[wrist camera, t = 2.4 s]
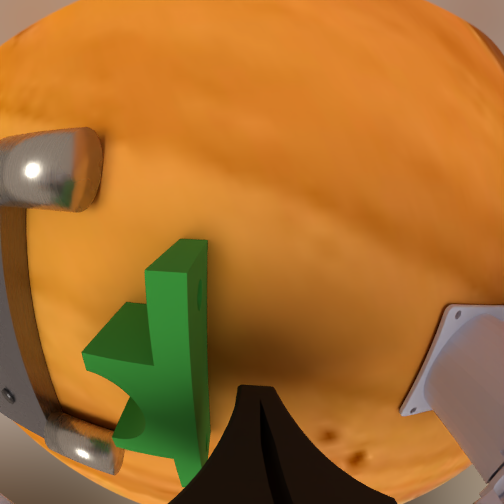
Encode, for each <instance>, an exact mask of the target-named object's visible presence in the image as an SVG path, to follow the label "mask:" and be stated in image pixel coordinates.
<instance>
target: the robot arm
mask: <svg viewBox="0 0 504 504" xmlns="http://www.w3.org/2000/svg"><path fill="white" fill-rule="evenodd" d="M429 410H433V411H434V412H435V413H436V415H437V416H438V417H439V418H440V420H441V421H442V422H443V424H444V425H445V426H446V428H447V429H448V430H449V432H450V433H451V434H452V436H453V437H454V439H455V440H456V441H457V443H458V444H459V445H460V447H461V448H462V449H463V451H464V452H465V454H466V455H467V456H468V458H469V459H470V461H471V462H472V464H473V465H474V466H475V468H476V469H477V470H478V472H479V473H480V475H481V476H482V478H483V480H484V481H485V482H486V484H487V483H489V484H488V485H487V486H486V488H485V489H483V490H482V491H481V492H480V494H479V495H480V496H481V498H480V499H478V500H477V501H476V502H474V503H473V504H504V305H460V304H451V305H449V306H448V307H447V308H446V309H445V311H444V314H443V316H442V319H441V322H440V325H439V327H438V330H437V333H436V335H435V338H434V340H433V343H432V345H431V348H430V350H429V352H428V355H427V357H426V359H425V361H424V363H423V366H422V368H421V370H420V372H419V374H418V376H417V378H416V380H415V382H414V384H413V386H412V388H411V390H410V392H409V394H408V396H407V397H406V399H405V401H404V403H403V405H402V406H401V408H400V410H399V413H400V414H401V416H408V415H413V414H417V413H421V412H425V411H429ZM0 504H14V503H13V502H12V501H10V500H9V499H8V498H6V497H5V496H4V495H2V494H1V493H0ZM168 504H397V502H396V501H395V499H394V498H392V497H390V496H387V495H385V494H383V493H380V492H378V491H376V490H374V489H372V488H370V487H368V486H366V485H364V484H363V483H361V482H359V481H357V480H356V479H354V478H353V477H351V476H350V475H349V474H347V473H346V472H344V471H343V470H342V469H340V468H339V467H337V466H336V465H335V464H334V463H333V462H332V461H330V460H329V459H328V458H327V457H326V456H325V455H324V454H323V453H322V452H321V451H320V450H319V449H318V448H317V447H316V446H315V445H314V444H313V443H312V442H311V441H310V440H309V439H308V437H307V436H306V435H305V434H304V433H303V431H302V430H301V429H300V428H299V426H298V425H297V424H296V422H295V421H294V419H293V418H292V417H291V415H290V414H289V412H288V411H287V409H286V408H285V406H284V404H283V403H282V401H281V399H280V398H279V396H278V394H277V392H276V390H275V389H274V388H273V387H270V386H253V385H240V386H238V390H237V396H236V402H235V407H234V410H233V413H232V416H231V418H230V421H229V423H228V425H227V427H226V429H225V431H224V433H223V435H222V437H221V439H220V441H219V443H218V445H217V446H216V448H215V449H214V451H213V453H212V454H211V456H210V457H209V459H208V460H207V461H206V463H205V464H204V466H203V467H202V468H201V470H200V471H199V472H198V473H197V475H196V476H195V477H194V478H193V479H192V480H191V481H190V482H189V484H188V485H187V486H186V487H185V488H184V489H183V490H182V491H181V492H180V493H179V494H178V495H177V496H176V497H175V498H174V499H173V500H171V501H170V502H169V503H168Z"/></svg>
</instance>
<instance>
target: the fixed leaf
mask: <svg viewBox="0 0 504 504" xmlns="http://www.w3.org/2000/svg"><path fill="white" fill-rule="evenodd" d="M102 167H103V155H102V147H101V143H100V140H99V138H98V136H97V134H96V133H95V131H94V130H92V129H91V128H88V127H82V128H69V129H59V130H50V131H42V132H34V133H27V134H21V135H15V136H10V137H6V138H3V139H1V140H0V412H1V413H2V414H4V415H5V416H7V417H8V418H10V419H12V420H13V421H15V422H16V423H18V424H20V425H21V426H23V427H25V428H27V429H28V430H30V431H32V432H34V433H36V434H37V435H39V436H41V437H43V438H45V442H46V445H47V446H48V448H49V449H51V450H53V451H55V452H57V453H59V454H61V455H63V456H65V457H68V458H70V459H72V460H74V461H77V462H79V463H82V464H84V465H87V466H89V467H92V468H94V469H97V470H100V471H103V472H106V473H109V474H112V475H116V474H117V473H118V472H119V470H120V468H121V466H122V462H123V458H124V449H123V448H119V447H116V445H115V443H114V441H113V439H112V435H113V433H114V431H112V430H109V429H106V428H103V427H100V426H97V425H94V424H91V423H88V422H85V421H83V420H80V419H77V418H75V417H72V416H70V415H67V414H65V413H63V412H62V409H61V407H60V404H59V401H58V399H57V396H56V393H55V391H54V388H53V385H52V382H51V379H50V376H49V372H48V369H47V366H46V362H45V359H44V355H43V352H42V348H41V344H40V340H39V335H38V331H37V326H36V321H35V316H34V311H33V305H32V298H31V291H30V284H29V275H28V264H27V250H26V208H31V209H44V210H55V211H67V212H82V211H84V210H85V209H87V208H88V207H89V205H90V204H91V203H92V201H93V200H94V198H95V196H96V193H97V191H98V188H99V184H100V180H101V175H102Z"/></svg>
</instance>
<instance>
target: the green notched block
mask: <svg viewBox="0 0 504 504" xmlns="http://www.w3.org/2000/svg"><path fill="white" fill-rule="evenodd" d="M207 250H208V240H196V239H180V240H178V241H177V242H176V243H175V244H174V245H173V246H171V247H170V248H169V249H168V250H167V251H166V252H165V253H163V254H162V255H161V256H160V257H159V258H158V259H157V260H155V261H154V262H153V263H152V264H151V265H150V266H149V267H148V268H147V269H145V286H146V300H147V304H140V303H131V302H126V303H125V304H124V305H123V306H122V307H121V308H120V310H119V311H118V312H117V313H116V314H115V315H114V316H113V317H112V318H111V319H110V321H109V322H108V323H107V324H106V325H105V326H104V327H103V328H102V329H101V331H100V332H99V333H98V334H97V335H96V336H95V337H94V339H93V340H92V341H91V342H90V343H89V344H88V345H87V347H86V348H85V349H84V350H83V351H82V352H81V353H82V356H83V360H84V363H85V367H86V370H87V371H90V372H93V373H96V374H98V375H100V376H102V377H104V378H106V379H108V380H110V381H111V382H113V383H114V384H116V385H117V386H119V387H120V388H121V389H122V390H124V391H125V392H126V393H127V394H128V395H129V396H130V398H129V400H128V402H127V404H126V406H125V409H124V411H123V413H122V415H121V417H120V420H119V422H118V424H117V426H116V428H115V431H114V433H113V435H112V439H113V441H114V443H115V445H116V447H119V448H123V449H127V450H131V451H135V452H139V453H144V454H149V455H154V456H160V457H166V458H172V459H174V461H175V465H176V468H177V472H178V475H179V478H180V482H181V485H182V487H186V486H187V485H188V484H189V482H190V481H191V480H192V479H193V478H194V477H195V476H196V475H197V473H198V472H199V471H200V470H201V468H202V467H203V466H204V464H205V463H206V461H207V460H208V452H209V442H210V432H211V430H210V412H209V390H208V360H207Z"/></svg>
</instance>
